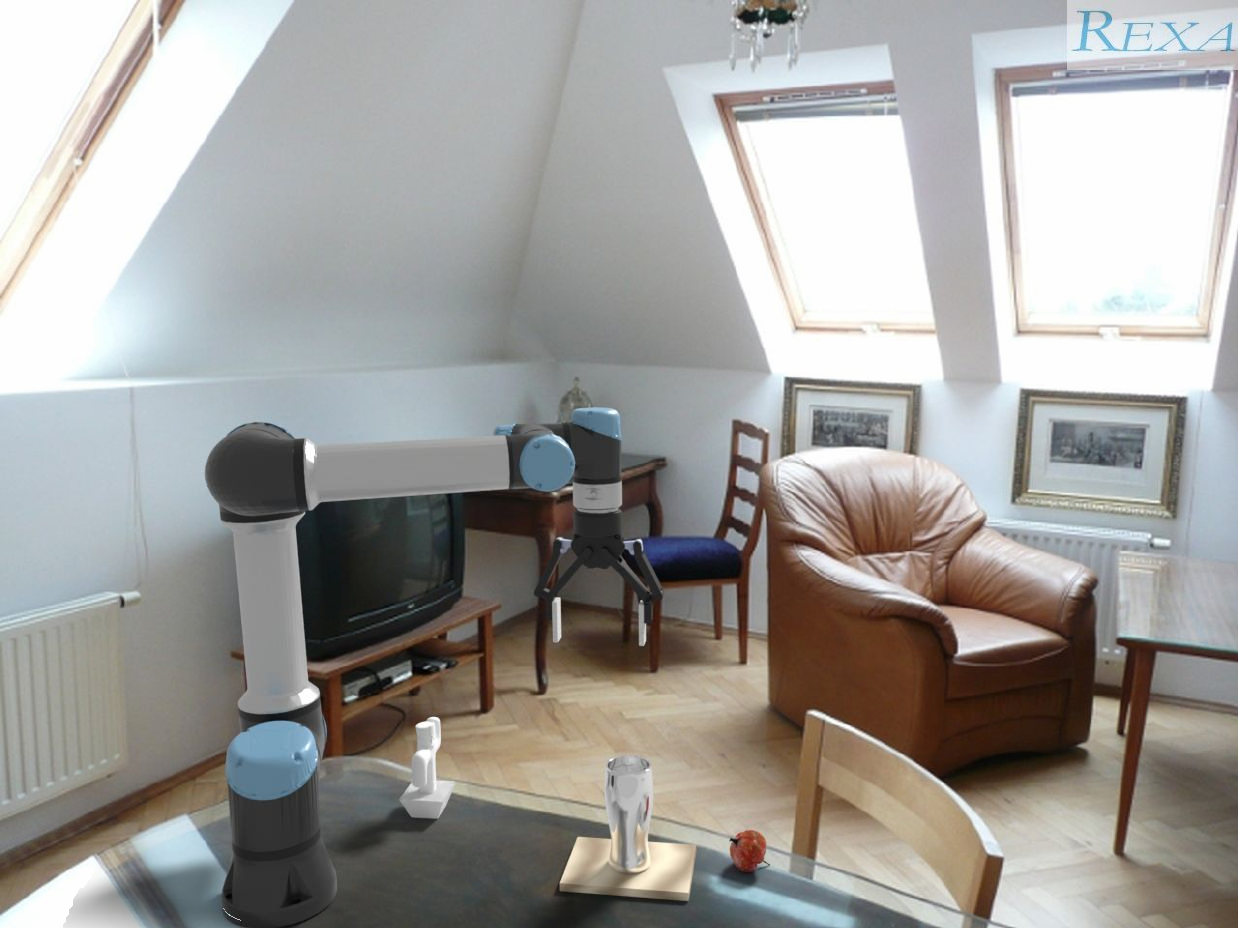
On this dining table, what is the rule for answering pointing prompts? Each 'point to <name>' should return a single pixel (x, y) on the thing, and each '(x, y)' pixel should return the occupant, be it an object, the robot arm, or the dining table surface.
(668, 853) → the birch board
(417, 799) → the figurine
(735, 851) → the pomegranate
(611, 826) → the beer glass
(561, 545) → the robot arm
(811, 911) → the dining table surface
